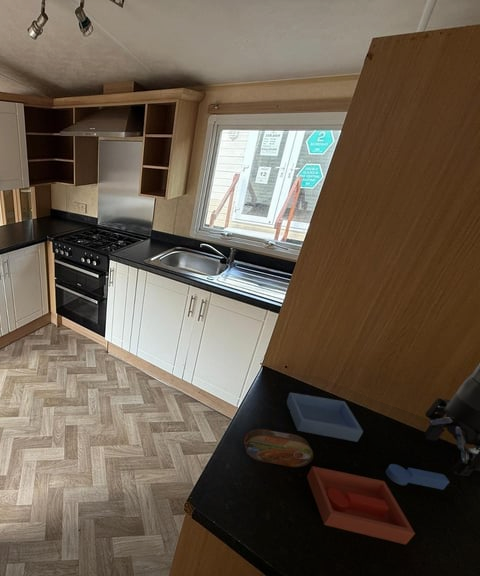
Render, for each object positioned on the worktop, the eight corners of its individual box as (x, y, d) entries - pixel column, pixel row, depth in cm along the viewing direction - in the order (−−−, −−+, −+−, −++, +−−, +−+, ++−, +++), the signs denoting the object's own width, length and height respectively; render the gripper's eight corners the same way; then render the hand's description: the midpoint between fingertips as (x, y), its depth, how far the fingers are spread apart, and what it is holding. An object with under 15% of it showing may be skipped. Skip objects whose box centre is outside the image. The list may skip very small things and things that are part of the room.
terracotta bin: (377, 492, 72) (384, 481, 70) (406, 544, 62) (415, 533, 61) (306, 476, 75) (311, 465, 73) (324, 524, 66) (330, 513, 64)
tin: (242, 457, 79) (249, 434, 75) (240, 446, 82) (247, 424, 78) (308, 471, 76) (319, 448, 72) (303, 459, 79) (314, 436, 75)
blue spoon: (434, 477, 75) (440, 470, 73) (446, 494, 71) (453, 486, 70) (382, 467, 77) (387, 459, 76) (391, 483, 73) (397, 475, 72)
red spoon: (376, 503, 69) (381, 495, 68) (386, 522, 65) (392, 514, 64) (321, 491, 71) (325, 482, 70) (328, 509, 68) (333, 501, 66)
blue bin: (340, 411, 93) (345, 401, 91) (357, 442, 83) (363, 431, 81) (286, 402, 96) (289, 392, 94) (297, 430, 86) (301, 420, 85)
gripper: (544, 436, 55) (491, 491, 62) (477, 380, 67) (440, 432, 75) (492, 427, 57) (446, 481, 64) (436, 374, 69) (403, 425, 76)
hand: (442, 454), depth 69 cm, fingers open, 8 cm apart
